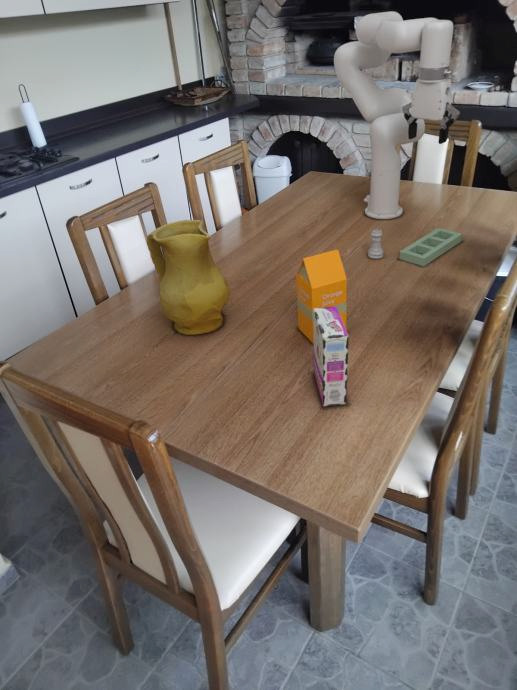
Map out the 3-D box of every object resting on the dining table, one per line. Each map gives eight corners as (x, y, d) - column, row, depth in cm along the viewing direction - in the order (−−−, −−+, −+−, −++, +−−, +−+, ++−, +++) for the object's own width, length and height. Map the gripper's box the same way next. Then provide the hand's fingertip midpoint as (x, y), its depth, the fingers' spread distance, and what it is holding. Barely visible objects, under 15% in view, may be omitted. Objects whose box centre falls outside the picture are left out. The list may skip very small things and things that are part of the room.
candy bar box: (348, 405, 106) (349, 335, 97) (323, 407, 106) (322, 338, 96) (336, 370, 115) (337, 304, 106) (313, 373, 115) (311, 307, 106)
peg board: (399, 259, 156) (399, 251, 155) (437, 235, 167) (438, 227, 166) (423, 266, 151) (424, 258, 150) (461, 241, 162) (462, 233, 161)
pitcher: (178, 348, 126) (160, 246, 113) (154, 317, 141) (136, 224, 128) (244, 327, 132) (234, 229, 119) (214, 300, 147) (203, 209, 134)
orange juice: (298, 328, 130) (294, 252, 119) (330, 318, 132) (329, 242, 121) (313, 344, 124) (311, 265, 113) (346, 333, 126) (348, 255, 115)
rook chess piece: (383, 259, 156) (384, 233, 152) (367, 259, 157) (368, 233, 153) (383, 253, 160) (384, 227, 155) (368, 252, 161) (369, 227, 156)
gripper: (470, 73, 141) (461, 141, 150) (413, 70, 151) (408, 133, 161) (456, 78, 137) (447, 147, 146) (397, 74, 147) (393, 139, 157)
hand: (427, 140), depth 154 cm, fingers open, 9 cm apart
